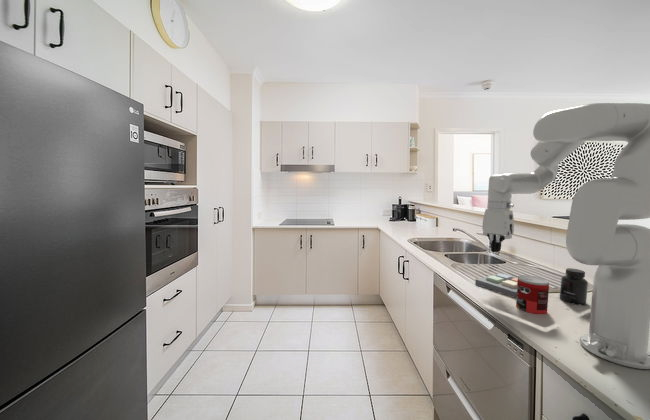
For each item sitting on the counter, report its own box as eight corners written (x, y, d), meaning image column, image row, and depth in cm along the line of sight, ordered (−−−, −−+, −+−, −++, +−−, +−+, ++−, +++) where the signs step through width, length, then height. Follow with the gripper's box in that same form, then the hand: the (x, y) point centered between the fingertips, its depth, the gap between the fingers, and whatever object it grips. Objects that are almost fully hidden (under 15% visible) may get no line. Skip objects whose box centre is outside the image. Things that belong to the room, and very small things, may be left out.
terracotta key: (522, 287, 100) (522, 282, 100) (510, 284, 104) (510, 279, 104) (528, 285, 102) (529, 280, 102) (516, 282, 106) (517, 277, 106)
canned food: (514, 304, 91) (516, 273, 90) (543, 309, 87) (546, 277, 86) (517, 313, 84) (519, 280, 83) (549, 319, 80) (552, 285, 79)
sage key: (497, 285, 103) (497, 280, 103) (486, 281, 107) (486, 276, 107) (503, 283, 105) (503, 278, 105) (492, 280, 109) (493, 275, 109)
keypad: (514, 300, 94) (515, 292, 94) (475, 286, 108) (475, 279, 108) (540, 292, 102) (540, 284, 102) (500, 280, 115) (500, 273, 115)
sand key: (513, 290, 98) (513, 285, 98) (501, 286, 102) (501, 281, 101) (520, 288, 100) (520, 283, 99) (508, 284, 103) (508, 279, 103)
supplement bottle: (562, 305, 90) (565, 271, 89) (556, 298, 96) (558, 266, 95) (589, 309, 87) (592, 274, 86) (581, 301, 93) (584, 268, 92)
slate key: (506, 282, 106) (506, 277, 106) (495, 279, 110) (495, 274, 109) (512, 281, 108) (512, 276, 107) (501, 277, 111) (501, 273, 111)
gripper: (525, 207, 99) (521, 254, 100) (485, 204, 112) (483, 246, 114) (513, 207, 95) (510, 256, 97) (474, 205, 109) (472, 248, 110)
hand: (495, 251), depth 105 cm, fingers closed
